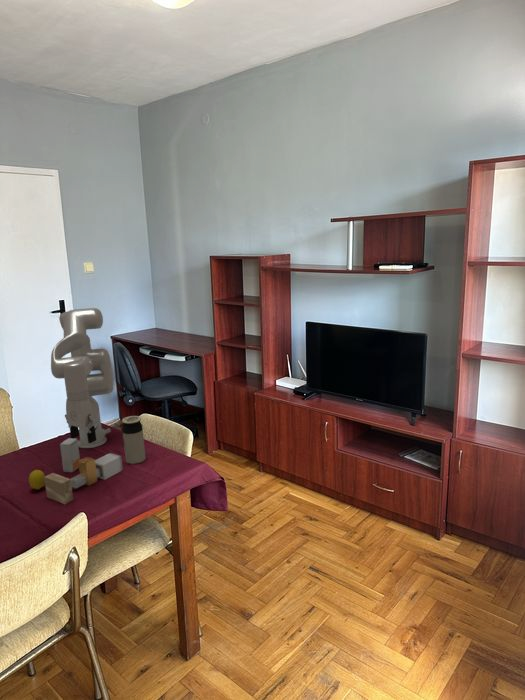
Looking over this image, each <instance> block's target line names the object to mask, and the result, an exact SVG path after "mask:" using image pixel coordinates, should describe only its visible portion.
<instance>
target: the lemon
mask: <svg viewBox="0 0 525 700" xmlns="http://www.w3.org/2000/svg"><path fill="white" fill-rule="evenodd" d="M45 476H46V475H45V473H44V472H43V471H42V470H40V469H34V470H32V472H30V473H29V476H28V484H29V486H30V487H31V488H32V489H34V490H40V489H41V488H43V487H44V486H45V480H44V477H45Z"/></svg>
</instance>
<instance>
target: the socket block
mask: <svg viewBox="0 0 525 700" xmlns="http://www.w3.org/2000/svg"><path fill="white" fill-rule="evenodd" d="M70 479H71V478H68V477H65V476H62V475H60V474H57V473H55V472H51V473H49V474H48V475H45V477H44V480H45V484H44V486H45V492H46V497H47V498H48V499H50V500H53V501H55V502H58V503H61V504H63V505H66V504H68V503H70V502H72V501H74V495H73V487H71V480H70Z"/></svg>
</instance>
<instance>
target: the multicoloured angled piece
mask: <svg viewBox="0 0 525 700" xmlns="http://www.w3.org/2000/svg"><path fill="white" fill-rule="evenodd" d="M95 460H96V459H95V458H93V457H90V456H85V457H84V458H82V459H81V458H80V460H79V461H78V463H79V467H78V469H79V474H77V475H75V476H74V477H71V478H69V479H70V480H71V487H72V489H78V488H80V487H82V486H84V485H86V486H88V487H89V486H91V485H93V484H95V483H96V482H98V477H99V476H101V475H102V468H101V467H100V466H96V465H95Z"/></svg>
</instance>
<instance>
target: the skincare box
mask: <svg viewBox="0 0 525 700" xmlns="http://www.w3.org/2000/svg"><path fill="white" fill-rule="evenodd" d="M78 441H79V439H78V438H73V439H72V438H71V437H69V438H66V439H64V440H63V441H62V442H61V443H60V444H59V446H60V447H59V448H60V455H61V462H62V470H63V471H62V472H64V473H74V472H75V471H76V470H77V469H79V463H78V461H79V460H81V458H80V457H81V456H80V450H79V448H80V447H78Z"/></svg>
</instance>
